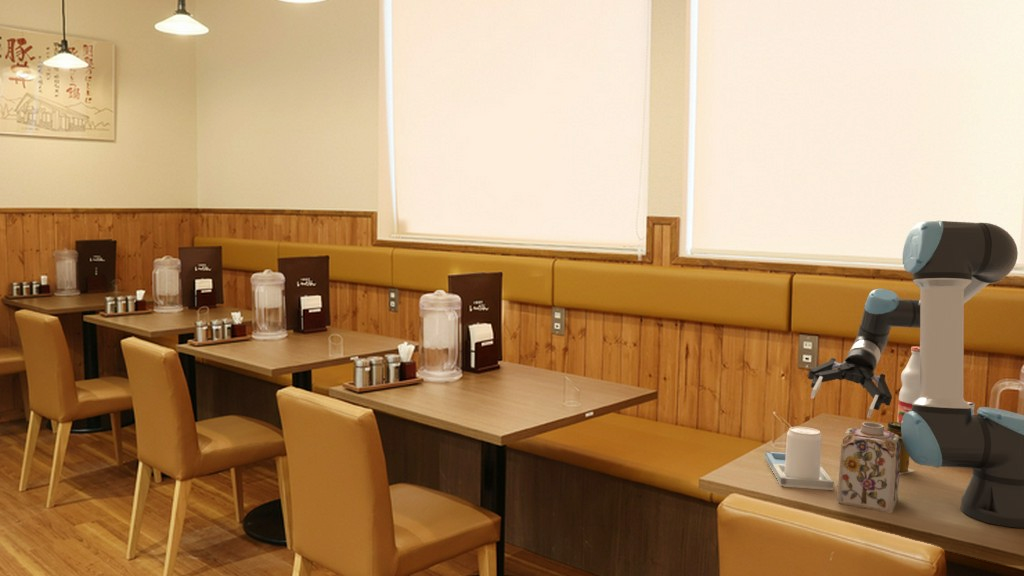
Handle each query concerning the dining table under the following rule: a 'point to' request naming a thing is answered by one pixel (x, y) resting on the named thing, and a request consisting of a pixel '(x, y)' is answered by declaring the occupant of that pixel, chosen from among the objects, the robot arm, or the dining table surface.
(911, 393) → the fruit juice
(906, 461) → the condiment
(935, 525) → the dining table surface
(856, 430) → the decorative jar
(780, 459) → the divided tray
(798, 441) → the beverage can
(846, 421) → the dining table surface
